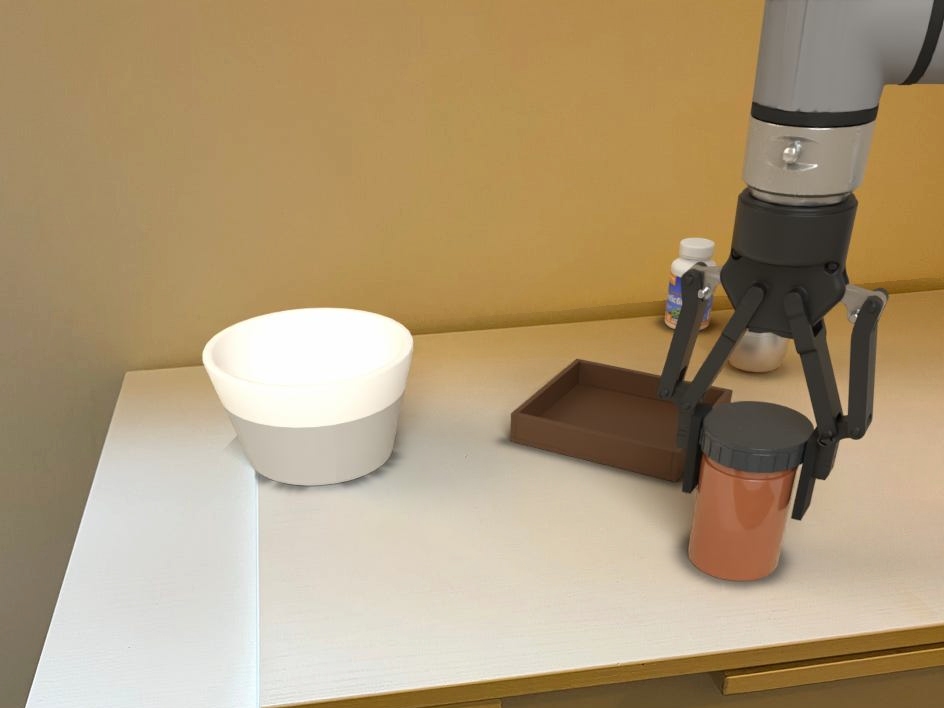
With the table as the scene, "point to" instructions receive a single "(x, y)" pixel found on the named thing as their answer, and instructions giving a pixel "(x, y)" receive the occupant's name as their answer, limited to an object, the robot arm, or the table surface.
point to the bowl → (312, 390)
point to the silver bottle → (759, 352)
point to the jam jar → (739, 520)
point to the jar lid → (755, 436)
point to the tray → (607, 419)
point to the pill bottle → (689, 255)
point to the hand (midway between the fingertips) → (745, 497)
